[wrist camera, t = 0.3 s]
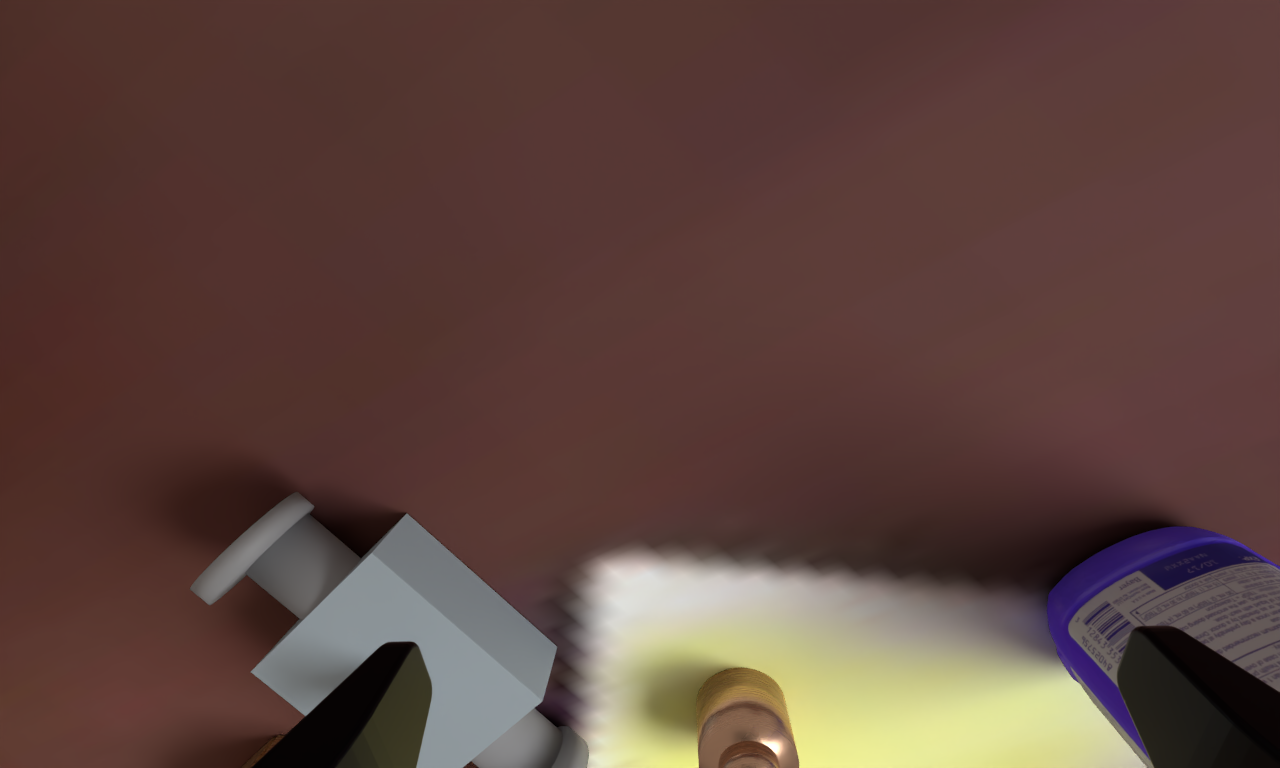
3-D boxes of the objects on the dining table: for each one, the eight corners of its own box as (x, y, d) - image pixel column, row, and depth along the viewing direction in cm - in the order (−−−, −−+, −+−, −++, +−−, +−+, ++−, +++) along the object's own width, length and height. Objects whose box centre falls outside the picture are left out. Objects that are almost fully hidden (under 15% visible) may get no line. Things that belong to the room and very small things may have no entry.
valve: (616, 699, 27) (597, 866, 20) (502, 791, 28) (448, 975, 21) (338, 452, 24) (210, 544, 18) (230, 566, 26) (73, 691, 19)
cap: (737, 757, 27) (748, 847, 23) (677, 702, 27) (678, 785, 23) (803, 708, 26) (826, 793, 22) (743, 651, 26) (755, 728, 22)
